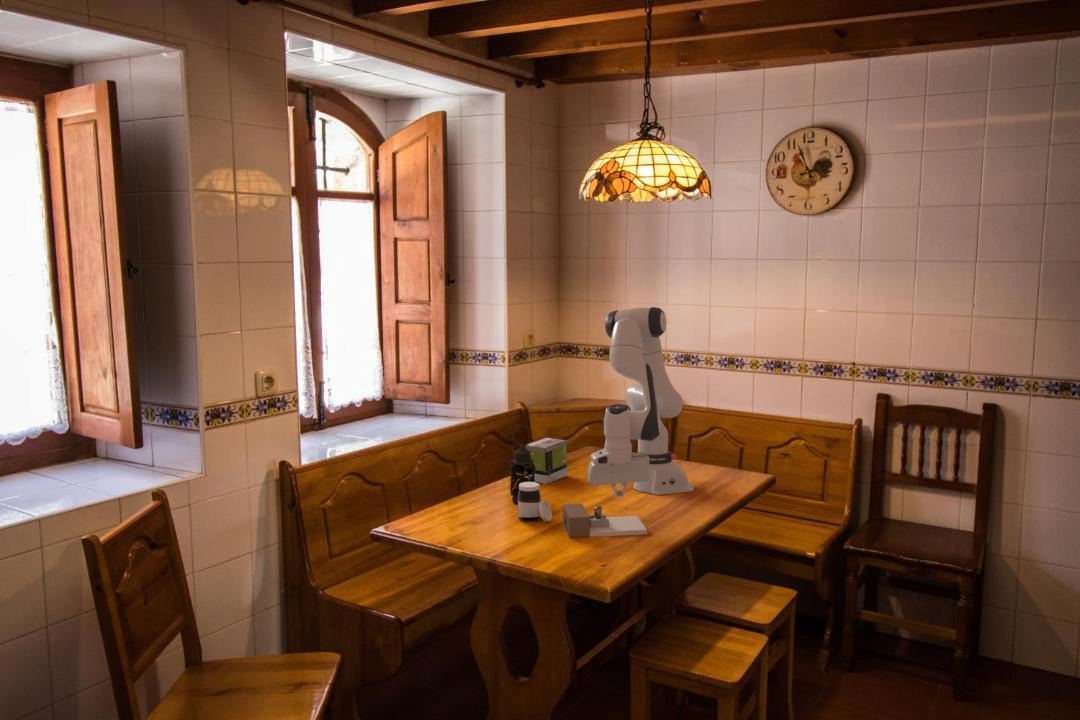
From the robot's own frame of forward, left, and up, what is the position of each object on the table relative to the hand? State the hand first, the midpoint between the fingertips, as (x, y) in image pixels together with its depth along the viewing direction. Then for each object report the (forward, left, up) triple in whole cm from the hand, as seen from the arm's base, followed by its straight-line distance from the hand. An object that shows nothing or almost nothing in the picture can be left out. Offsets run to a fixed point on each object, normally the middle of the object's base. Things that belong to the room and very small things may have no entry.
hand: (619, 495), depth 283 cm
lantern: (+29, -29, -10) cm, 42 cm away
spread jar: (+27, -9, -10) cm, 30 cm away
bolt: (+11, +4, -8) cm, 14 cm away
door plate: (+6, +4, -10) cm, 12 cm away
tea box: (+16, -58, -10) cm, 61 cm away
